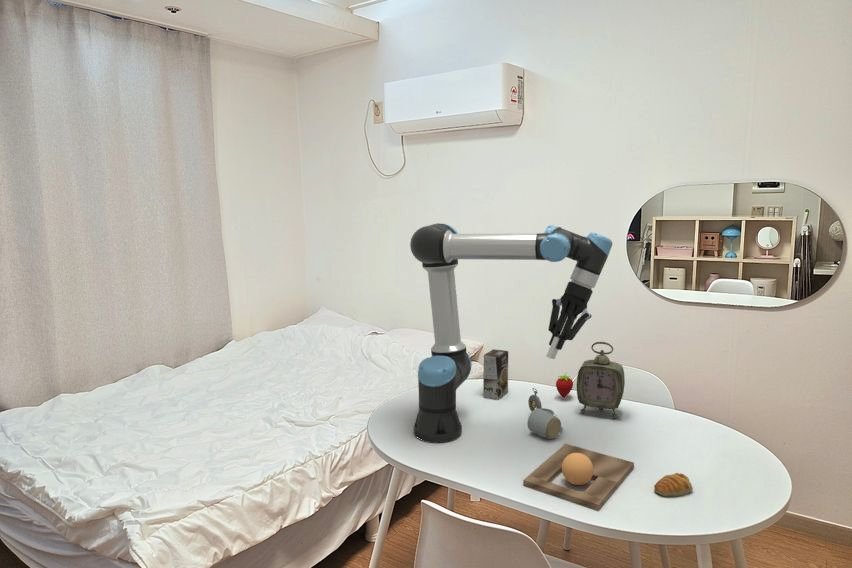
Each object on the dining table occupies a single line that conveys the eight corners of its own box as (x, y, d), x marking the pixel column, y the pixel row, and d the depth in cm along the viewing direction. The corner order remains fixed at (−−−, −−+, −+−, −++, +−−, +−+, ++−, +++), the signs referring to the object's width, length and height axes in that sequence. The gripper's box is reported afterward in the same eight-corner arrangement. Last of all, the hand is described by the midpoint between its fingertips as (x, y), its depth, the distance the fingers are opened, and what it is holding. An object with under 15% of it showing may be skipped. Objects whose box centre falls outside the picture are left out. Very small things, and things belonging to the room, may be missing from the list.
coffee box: (498, 400, 209) (499, 357, 206) (482, 397, 212) (482, 354, 209) (508, 392, 217) (509, 350, 214) (492, 389, 220) (493, 348, 217)
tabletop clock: (575, 414, 195) (577, 342, 191) (580, 405, 203) (582, 336, 199) (620, 421, 189) (624, 347, 184) (623, 411, 197) (627, 340, 193)
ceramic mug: (547, 443, 174) (548, 419, 173) (526, 434, 180) (527, 411, 179) (569, 434, 181) (570, 410, 179) (548, 425, 187) (549, 403, 186)
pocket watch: (556, 413, 196) (557, 385, 194) (547, 422, 189) (548, 393, 188) (533, 408, 201) (534, 381, 199) (524, 417, 194) (524, 388, 192)
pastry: (668, 502, 142) (668, 487, 141) (646, 489, 148) (647, 475, 147) (694, 493, 146) (695, 478, 145) (673, 481, 152) (673, 467, 151)
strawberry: (575, 396, 211) (576, 370, 209) (568, 403, 205) (569, 376, 203) (560, 393, 214) (560, 367, 213) (552, 400, 208) (553, 373, 207)
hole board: (523, 485, 150) (523, 480, 150) (565, 448, 171) (565, 443, 170) (598, 510, 138) (598, 504, 138) (633, 467, 159) (634, 462, 158)
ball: (569, 448, 156) (565, 478, 155) (559, 450, 150) (555, 481, 149) (599, 456, 152) (594, 487, 151) (590, 458, 145) (586, 490, 144)
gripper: (606, 294, 170) (574, 368, 172) (568, 279, 178) (539, 349, 181) (594, 290, 164) (562, 366, 166) (557, 275, 173) (526, 347, 175)
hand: (550, 357), depth 174 cm, fingers closed
